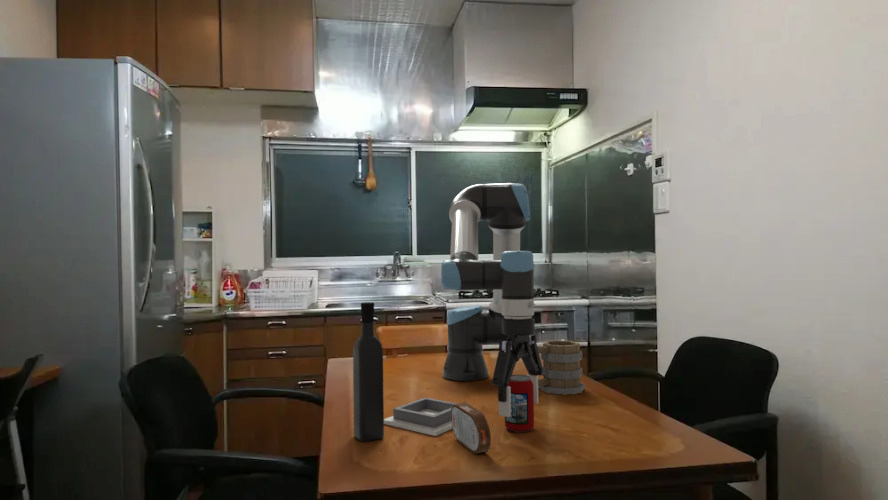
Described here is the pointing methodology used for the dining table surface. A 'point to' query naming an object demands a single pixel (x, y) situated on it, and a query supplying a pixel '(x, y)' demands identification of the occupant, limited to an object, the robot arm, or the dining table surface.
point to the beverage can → (521, 404)
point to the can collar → (423, 416)
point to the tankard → (561, 367)
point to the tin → (470, 427)
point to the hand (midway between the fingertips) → (519, 409)
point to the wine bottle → (368, 380)
